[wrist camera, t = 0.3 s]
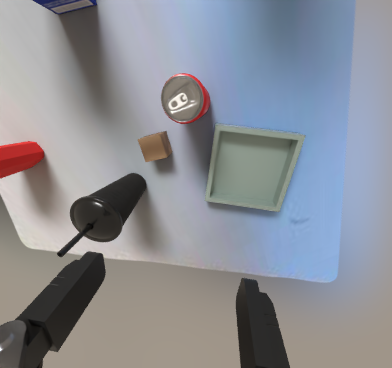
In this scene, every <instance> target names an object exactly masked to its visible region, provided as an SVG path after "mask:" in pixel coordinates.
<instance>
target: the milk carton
mask: <svg viewBox="0 0 392 368" xmlns="http://www.w3.org/2000/svg"><path fill="white" fill-rule="evenodd" d="M33 1H35V2H36V3H38V4H40V5H42V6H44V7H45V8H47V9H49V10H51V11H52V12H54V13H56V14H62V13H66V12H70V11H74V10H78V9H82V8H86V7H90V6H94V5H97V3H96V0H33Z"/></svg>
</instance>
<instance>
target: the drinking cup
mask: <svg viewBox="0 0 392 368" xmlns="http://www.w3.org/2000/svg"><path fill="white" fill-rule="evenodd" d="M145 189H146V182H145V180H144V178H143V177H142V176H140V175H139V174H136V173H131V174H128V175H126V176H124V177H123V178H121V179H119V180H117V181H115V182H113V183H111V184H109V185H108V186H106V187H104V188H102V189H100V190H98V191H96V192H95V193H93V194H91V195H89V196H85V197H82V198H79V199H78V200H76V201H75V202H74V203H73V204H72V206H71V209H70V218H71V221H72V223H73V225H74V226H75V228H76V229H77V230H78V231H79V232H80V233H78V234H77V235H76V236H75V237H74V238H73V239H72V240H71V241H70V242H69V243H68V244H66V245H65V246H64V247H63V248H62V249H61V250H60V251H59V252H58V253H57V255H58V256H59V257H63V256H64V255H65V254H66V253H67V252H68V251H69V250H70V249H71V248H72V247H73V246H74V245H75V244H76V243H77V242H78V241H79V240H80V239H81V238H82V237H83V236H85V237H87V238H88V239H91V240H93V241H97V242H109V241H112V240H114V239H116V238H117V237H118V236H119V234H120V233H121V231H122V227H123V225H124V223H125V222H126V220H127V218H128V217H129V215H130V214H131V212H132V210H133V209H134V207H135V205H136V204H137V202H138V201H139V199H140V197H141V196H142V194H143V193H144V191H145Z"/></svg>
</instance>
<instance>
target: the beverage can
mask: <svg viewBox="0 0 392 368" xmlns="http://www.w3.org/2000/svg"><path fill="white" fill-rule="evenodd" d="M161 102H162V106H163V109H164V111H165V113H166V114H167V116H168V117H169V118H170V119H172V120H173V121H175V122H177V123H180V124H188V123H191V122H194V121H195V120H197V119H198V118H200V117H201V116H203V115H204V114H205V113H206V112H207V110H208V108H209V105H210V96H209V93H208V91H207V90H206V89H205V87H204V86H203V85H202V83H201V82H200V81H199V80H198V79H197V78H196V77H194V76H192V75H190V74H185V73H182V74H177V75H174V76H173V77H171V78H170V79H169V80H168V81H167V82H166V83H165V85H164V87H163V90H162V94H161Z"/></svg>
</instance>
